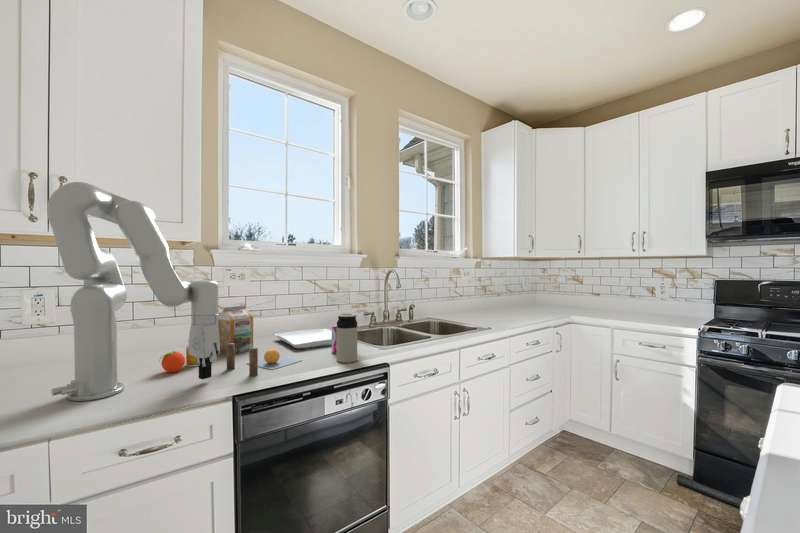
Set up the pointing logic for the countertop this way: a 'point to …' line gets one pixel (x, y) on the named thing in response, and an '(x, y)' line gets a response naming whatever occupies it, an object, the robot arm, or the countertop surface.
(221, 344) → the milk carton
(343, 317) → the travel mug
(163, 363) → the tomato
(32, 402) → the countertop surface
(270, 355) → the ball
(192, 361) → the supplement bottle
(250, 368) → the right post
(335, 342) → the supplement box
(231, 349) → the left post
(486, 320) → the countertop surface
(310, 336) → the square plate
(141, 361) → the countertop surface
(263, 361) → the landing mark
